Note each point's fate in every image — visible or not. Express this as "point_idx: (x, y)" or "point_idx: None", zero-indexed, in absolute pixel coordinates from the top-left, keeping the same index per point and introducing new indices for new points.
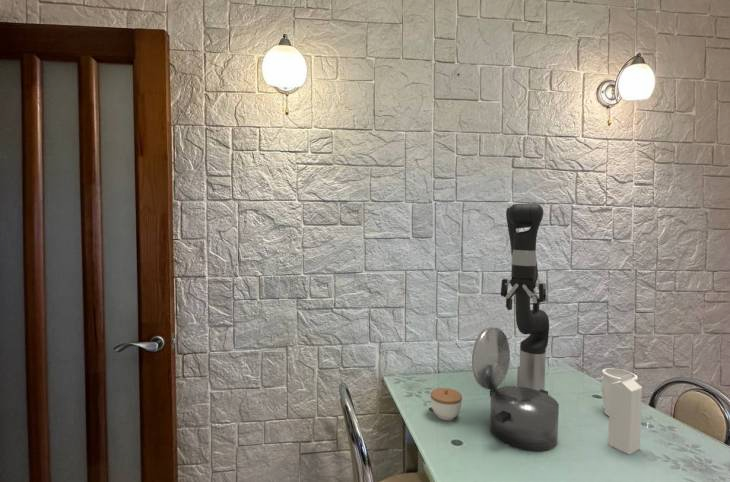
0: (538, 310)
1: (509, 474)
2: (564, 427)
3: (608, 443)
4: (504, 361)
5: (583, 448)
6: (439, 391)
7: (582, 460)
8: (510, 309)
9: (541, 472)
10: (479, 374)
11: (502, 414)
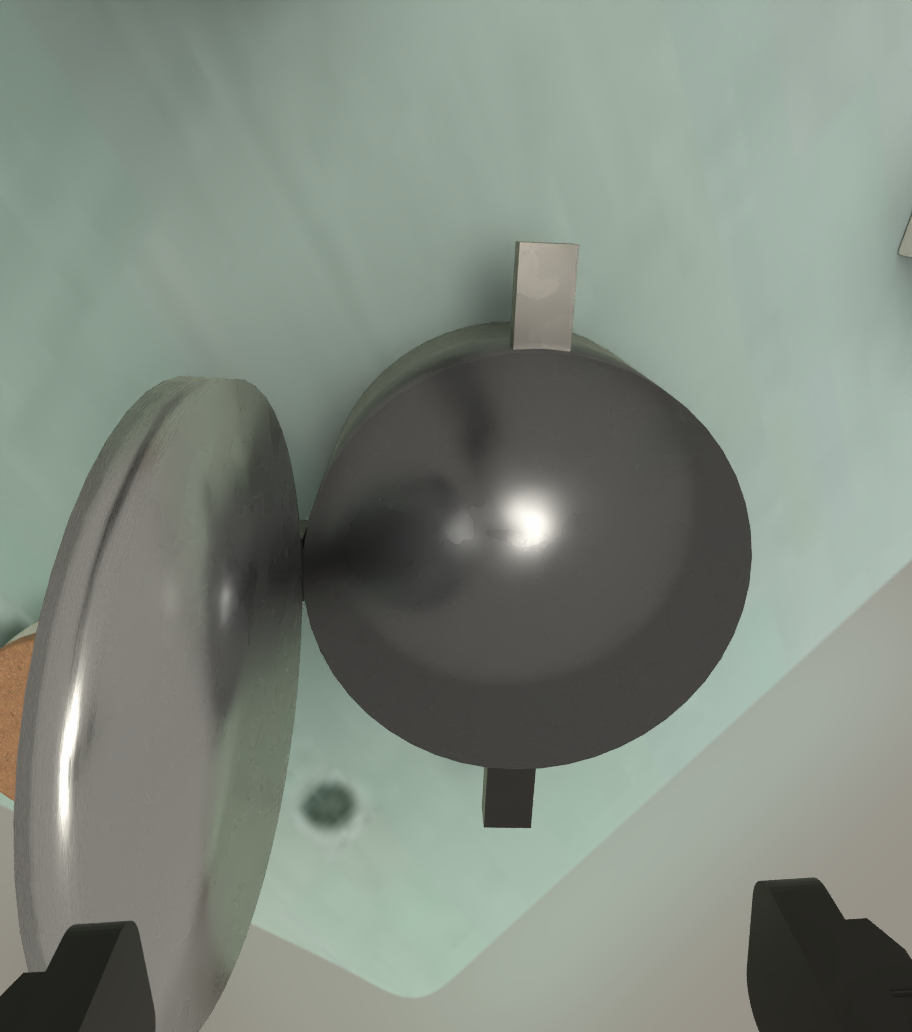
0: (903, 991)
1: (609, 827)
2: (655, 245)
3: (902, 254)
4: (246, 483)
5: (797, 402)
6: (13, 740)
7: (815, 515)
8: (147, 994)
9: (700, 729)
10: (268, 845)
11: (509, 798)
